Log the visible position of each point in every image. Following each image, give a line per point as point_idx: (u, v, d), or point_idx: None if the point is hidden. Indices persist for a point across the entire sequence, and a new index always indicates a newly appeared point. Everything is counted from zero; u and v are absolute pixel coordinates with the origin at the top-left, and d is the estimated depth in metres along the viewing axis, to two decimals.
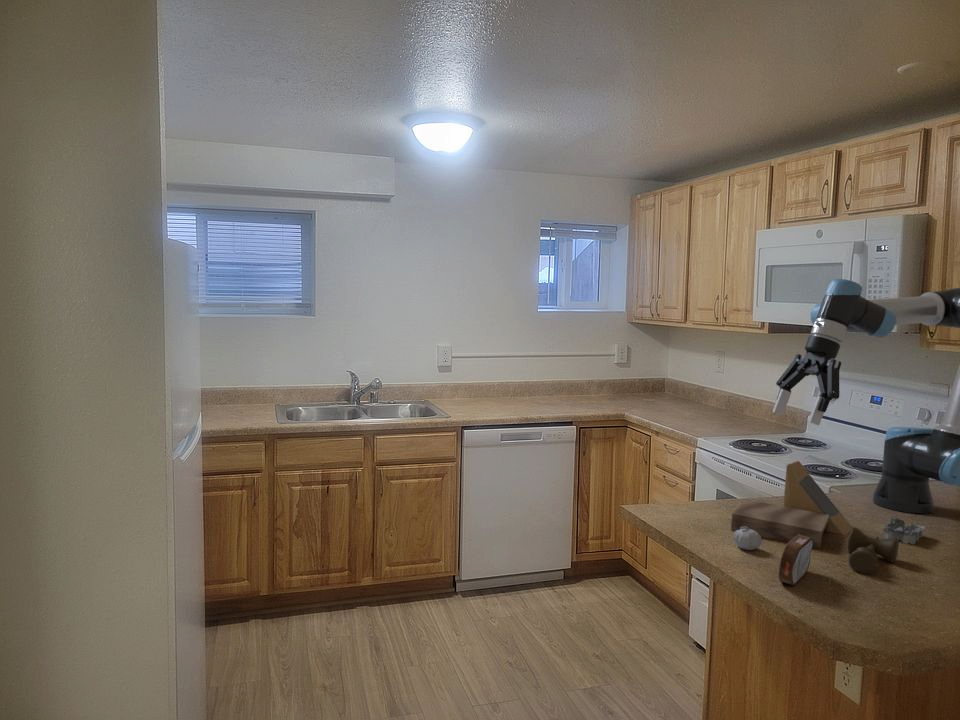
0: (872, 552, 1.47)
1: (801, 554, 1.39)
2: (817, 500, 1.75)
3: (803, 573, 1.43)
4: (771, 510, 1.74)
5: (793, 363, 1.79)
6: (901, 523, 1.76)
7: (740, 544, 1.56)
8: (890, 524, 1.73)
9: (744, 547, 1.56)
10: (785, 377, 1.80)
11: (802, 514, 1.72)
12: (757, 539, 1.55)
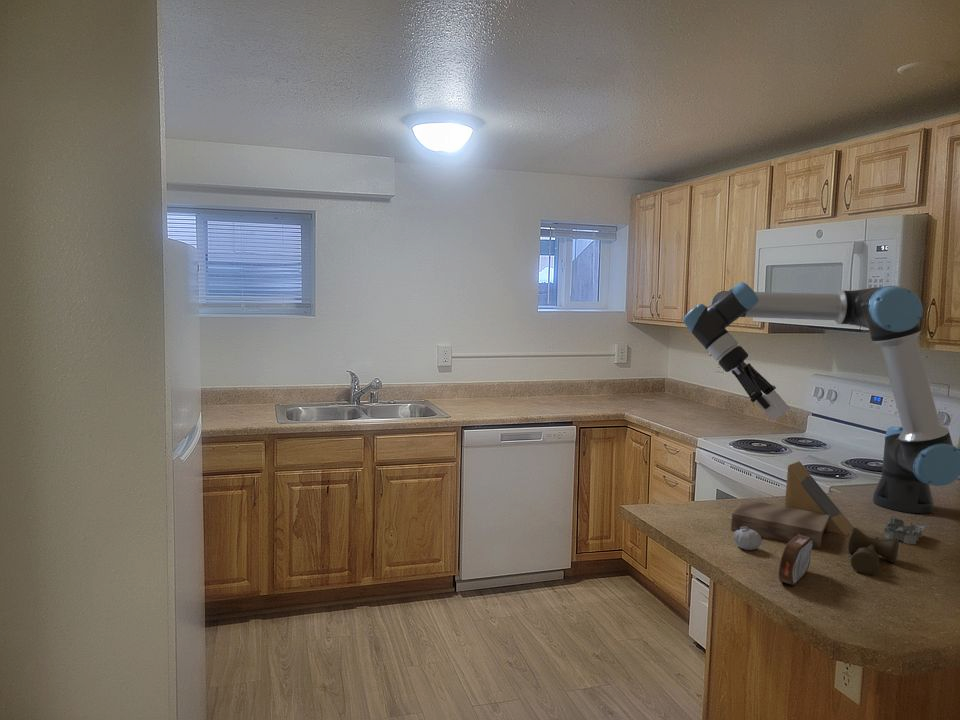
0: (873, 552, 1.47)
1: (801, 554, 1.39)
2: (819, 500, 1.75)
3: (803, 573, 1.43)
4: (771, 510, 1.74)
5: None
6: (900, 523, 1.76)
7: (740, 544, 1.56)
8: (890, 524, 1.73)
9: (744, 547, 1.56)
10: None
11: (802, 514, 1.72)
12: (757, 539, 1.55)
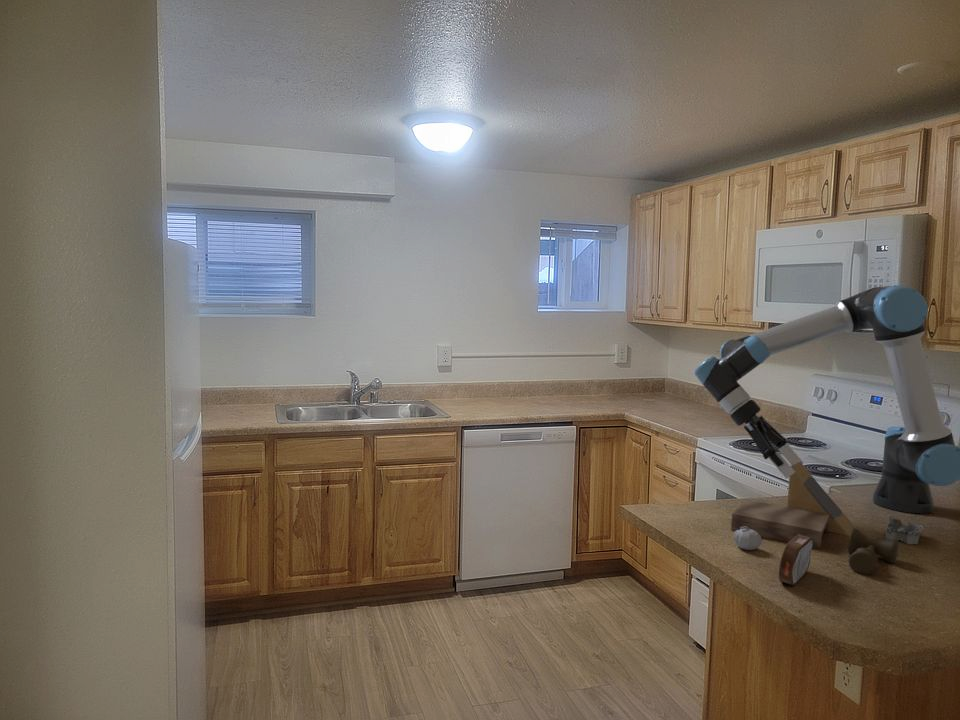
0: (872, 553, 1.47)
1: (801, 554, 1.39)
2: (822, 501, 1.74)
3: (803, 573, 1.43)
4: (771, 510, 1.74)
5: None
6: (898, 522, 1.76)
7: (740, 544, 1.56)
8: (890, 524, 1.73)
9: (744, 547, 1.56)
10: None
11: (802, 514, 1.72)
12: (757, 539, 1.55)
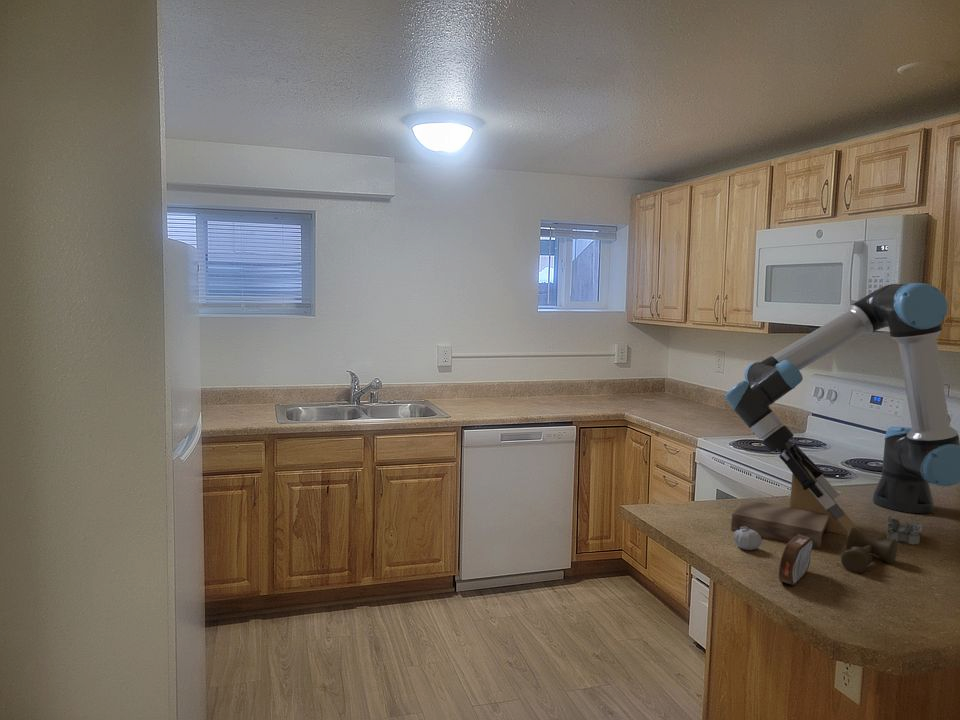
0: (866, 552, 1.48)
1: (801, 554, 1.39)
2: None
3: (803, 573, 1.43)
4: (771, 510, 1.74)
5: None
6: (896, 522, 1.76)
7: (740, 544, 1.56)
8: (889, 524, 1.73)
9: (744, 547, 1.56)
10: None
11: (802, 514, 1.72)
12: (757, 539, 1.55)
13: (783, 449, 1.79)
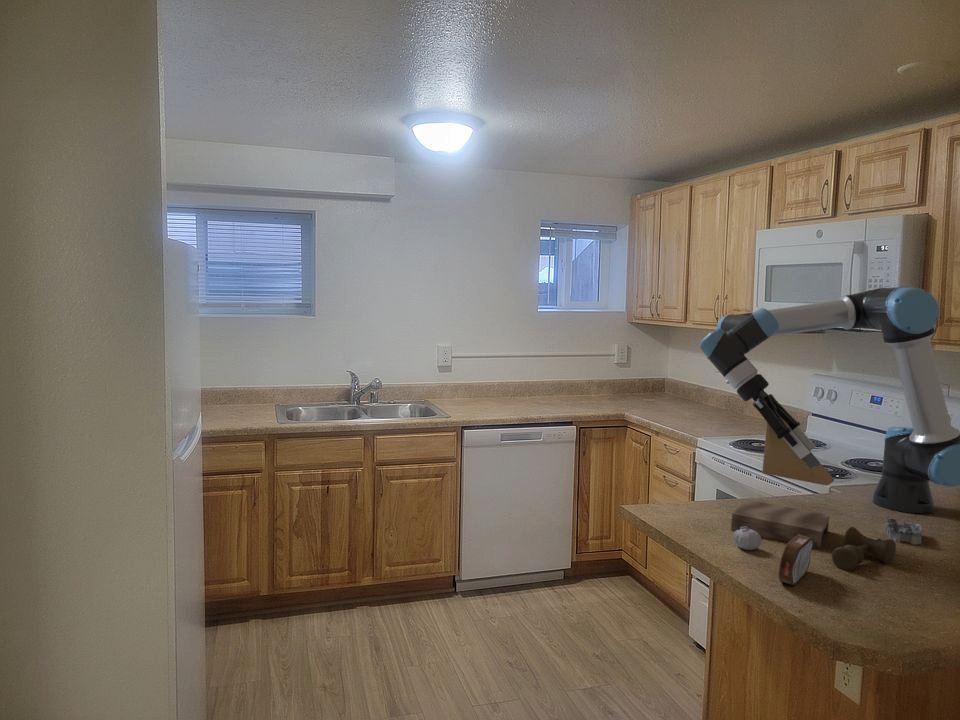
0: (857, 550, 1.49)
1: (801, 554, 1.39)
2: None
3: (803, 573, 1.43)
4: (771, 510, 1.74)
5: None
6: (893, 522, 1.76)
7: (740, 544, 1.56)
8: (889, 525, 1.73)
9: (744, 547, 1.56)
10: None
11: (802, 514, 1.72)
12: (757, 539, 1.55)
13: (757, 397, 1.73)
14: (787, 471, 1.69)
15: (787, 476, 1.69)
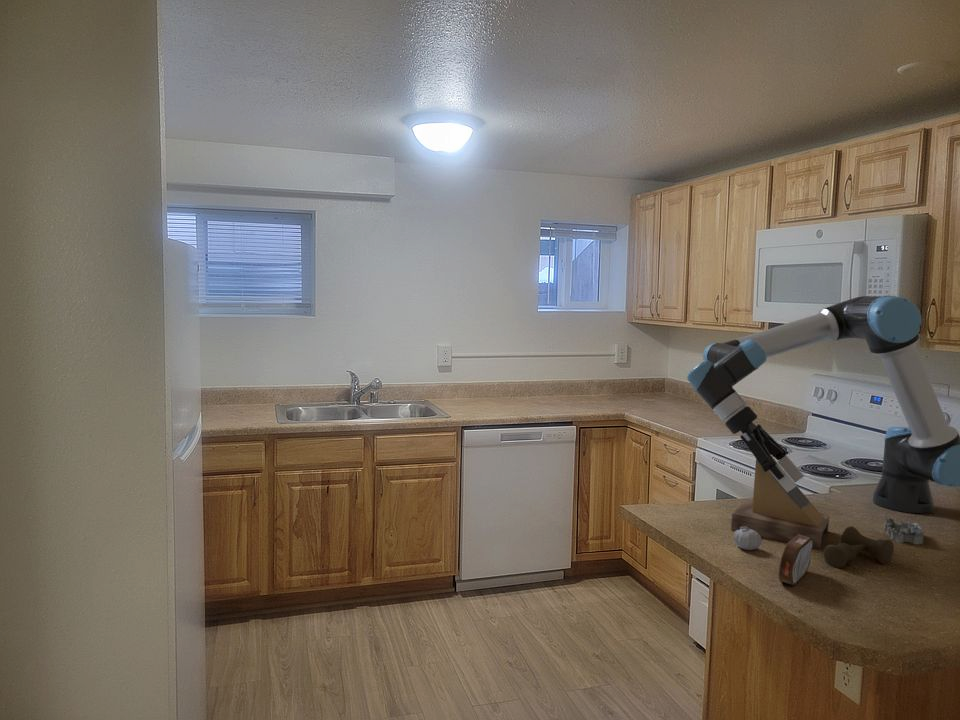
0: (850, 548, 1.49)
1: (801, 554, 1.39)
2: None
3: (803, 573, 1.43)
4: None
5: None
6: (891, 522, 1.76)
7: (740, 544, 1.56)
8: (889, 525, 1.72)
9: (744, 547, 1.56)
10: None
11: None
12: (757, 539, 1.55)
13: (746, 430, 1.71)
14: (777, 511, 1.68)
15: (777, 516, 1.68)
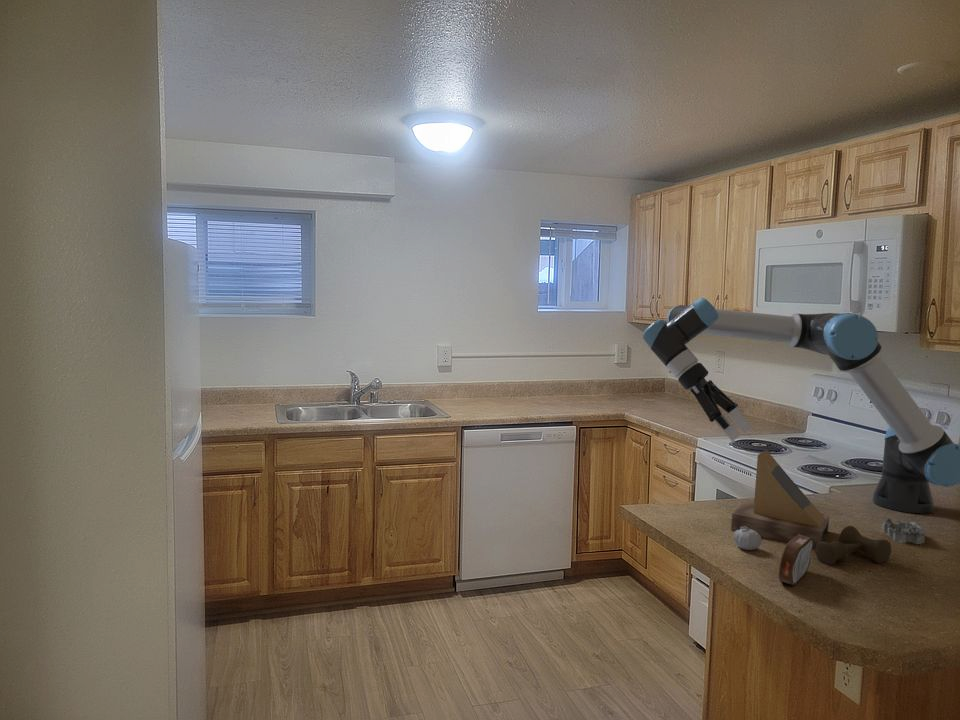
0: (842, 546, 1.51)
1: (801, 554, 1.39)
2: (790, 490, 1.67)
3: (803, 573, 1.43)
4: None
5: None
6: (888, 522, 1.76)
7: (740, 544, 1.56)
8: (889, 526, 1.72)
9: (744, 547, 1.56)
10: None
11: None
12: (757, 539, 1.55)
13: None
14: (778, 512, 1.67)
15: (779, 517, 1.67)
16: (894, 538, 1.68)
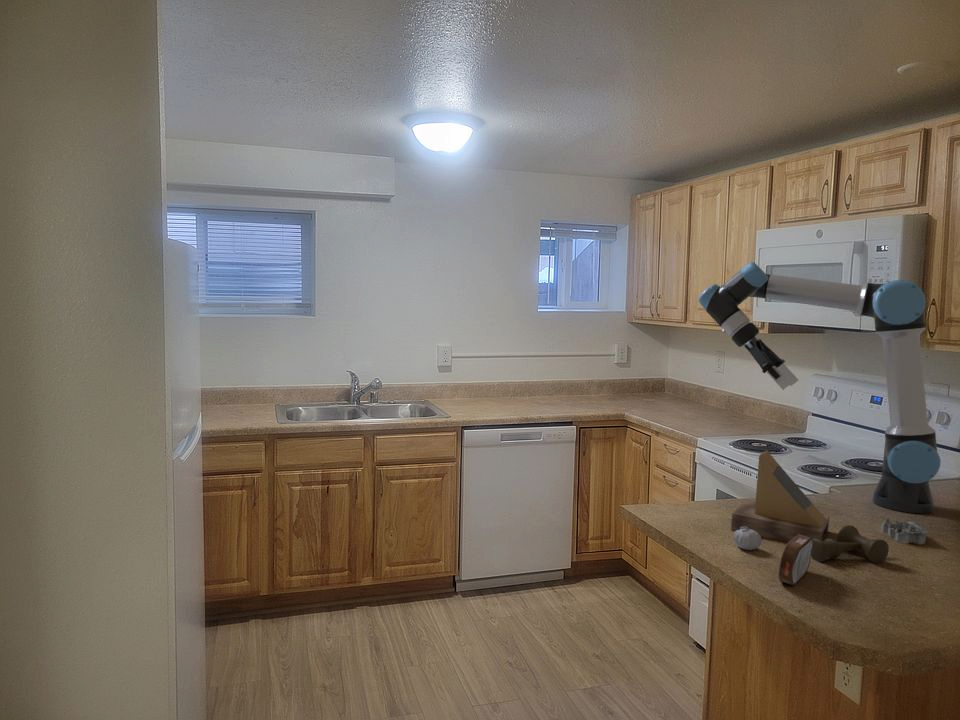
0: (834, 544, 1.52)
1: (801, 554, 1.39)
2: (792, 491, 1.66)
3: (803, 573, 1.43)
4: None
5: None
6: None
7: (740, 544, 1.56)
8: (890, 526, 1.72)
9: (744, 547, 1.56)
10: None
11: None
12: (757, 539, 1.55)
13: None
14: (780, 512, 1.67)
15: (780, 517, 1.67)
16: (897, 539, 1.68)
